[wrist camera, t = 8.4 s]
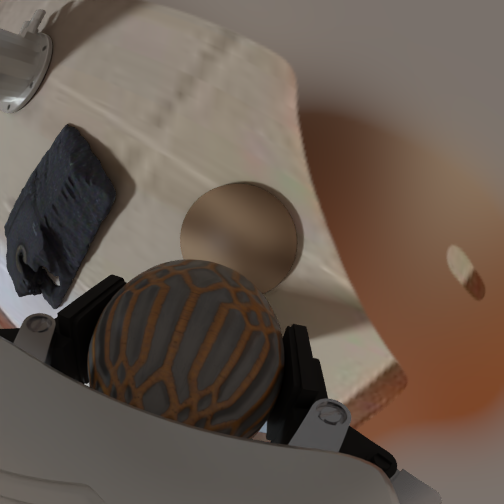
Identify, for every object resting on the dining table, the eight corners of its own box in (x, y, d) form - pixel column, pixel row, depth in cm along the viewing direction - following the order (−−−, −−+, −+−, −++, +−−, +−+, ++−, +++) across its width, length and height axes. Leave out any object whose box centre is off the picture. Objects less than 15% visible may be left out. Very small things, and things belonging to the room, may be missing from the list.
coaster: (194, 172, 25) (192, 172, 24) (310, 200, 25) (311, 201, 24) (174, 280, 28) (172, 282, 27) (279, 306, 28) (279, 309, 27)
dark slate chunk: (144, 206, 26) (121, 213, 22) (56, 313, 31) (36, 328, 27) (73, 113, 24) (47, 108, 19) (4, 233, 28) (-17, 241, 24)
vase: (300, 263, 12) (348, 429, 3) (260, 380, 14) (248, 530, 5) (149, 225, 12) (-8, 307, 3) (139, 346, 14) (59, 466, 5)
